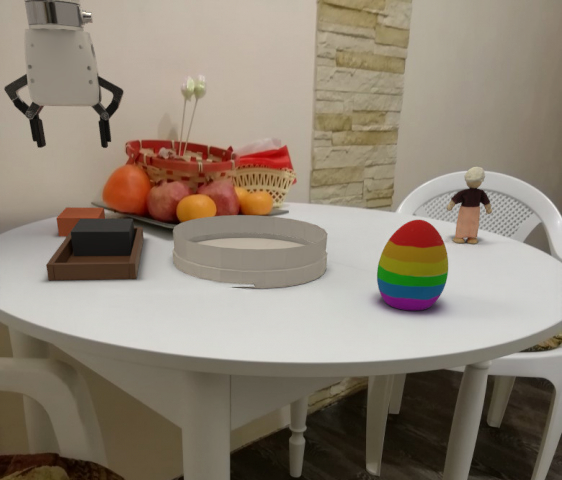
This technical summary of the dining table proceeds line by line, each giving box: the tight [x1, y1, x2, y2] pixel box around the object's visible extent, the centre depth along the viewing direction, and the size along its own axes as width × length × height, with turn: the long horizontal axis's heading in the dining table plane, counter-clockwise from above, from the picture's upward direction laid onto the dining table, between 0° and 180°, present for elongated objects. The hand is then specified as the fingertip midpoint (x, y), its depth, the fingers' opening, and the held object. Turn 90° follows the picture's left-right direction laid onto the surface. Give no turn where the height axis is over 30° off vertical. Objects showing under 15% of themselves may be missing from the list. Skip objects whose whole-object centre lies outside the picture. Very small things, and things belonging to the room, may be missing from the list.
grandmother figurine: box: [446, 166, 493, 245], centre depth 95 cm, size 8×4×13 cm, turn 97°
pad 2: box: [71, 218, 135, 256], centre depth 82 cm, size 8×9×4 cm
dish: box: [172, 214, 328, 289], centre depth 78 cm, size 22×22×5 cm
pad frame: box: [45, 226, 145, 282], centre depth 78 cm, size 11×22×3 cm, turn 10°
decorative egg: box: [376, 219, 449, 312], centre depth 64 cm, size 8×8×10 cm
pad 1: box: [56, 206, 106, 237], centre depth 92 cm, size 6×9×4 cm
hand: (73, 147), depth 87 cm, fingers open, 9 cm apart
